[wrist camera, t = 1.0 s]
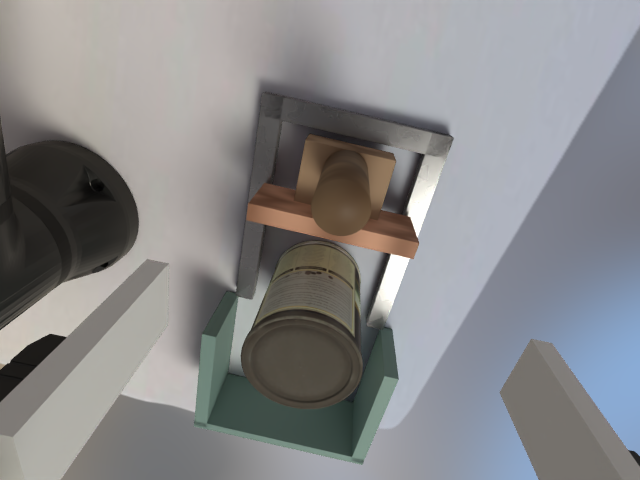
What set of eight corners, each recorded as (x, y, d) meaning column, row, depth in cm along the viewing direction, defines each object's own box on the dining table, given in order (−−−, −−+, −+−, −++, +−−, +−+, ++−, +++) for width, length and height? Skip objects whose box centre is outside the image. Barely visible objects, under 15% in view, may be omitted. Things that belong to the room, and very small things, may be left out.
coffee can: (376, 295, 44) (383, 390, 31) (302, 325, 47) (281, 422, 34) (335, 224, 40) (324, 298, 28) (258, 261, 43) (216, 343, 31)
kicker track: (239, 288, 45) (235, 295, 44) (266, 91, 35) (262, 92, 34) (382, 322, 45) (382, 330, 44) (450, 135, 35) (453, 138, 34)
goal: (216, 376, 52) (194, 426, 45) (226, 291, 45) (202, 333, 38) (361, 409, 52) (362, 464, 45) (392, 329, 46) (398, 379, 38)
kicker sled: (262, 197, 37) (223, 251, 27) (273, 125, 34) (233, 153, 23) (405, 231, 38) (424, 298, 27) (429, 161, 34) (461, 207, 24)
